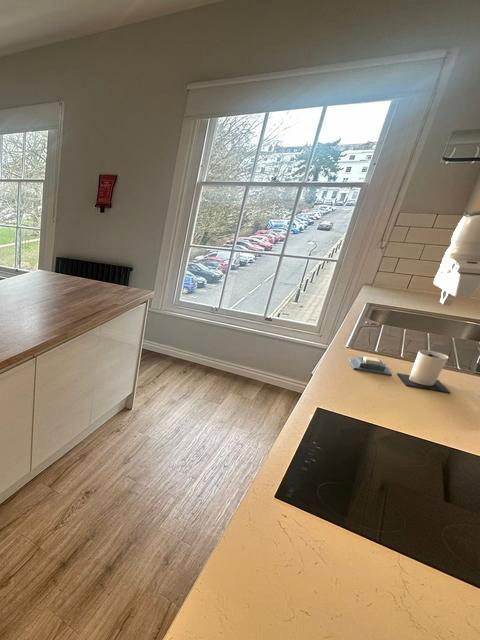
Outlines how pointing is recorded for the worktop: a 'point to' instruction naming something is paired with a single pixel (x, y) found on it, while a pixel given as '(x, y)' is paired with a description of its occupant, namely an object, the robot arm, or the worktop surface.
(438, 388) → the coaster
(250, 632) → the worktop surface
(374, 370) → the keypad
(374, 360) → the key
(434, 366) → the white mug
